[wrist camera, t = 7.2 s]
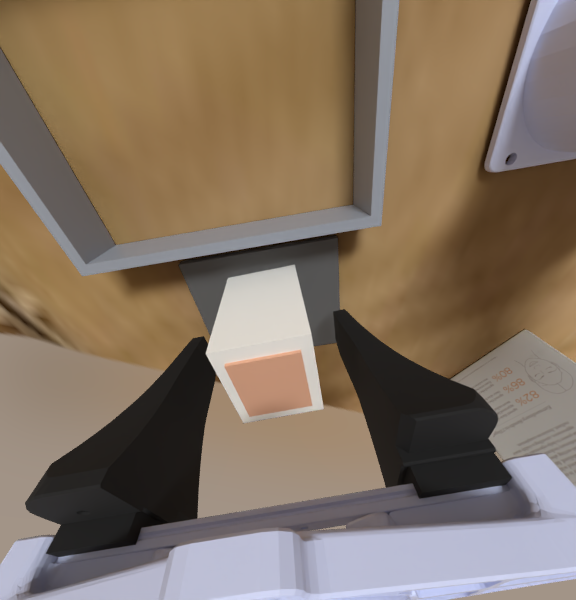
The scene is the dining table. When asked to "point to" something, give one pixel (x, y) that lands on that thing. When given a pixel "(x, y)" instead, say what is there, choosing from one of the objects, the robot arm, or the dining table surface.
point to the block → (265, 346)
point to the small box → (529, 399)
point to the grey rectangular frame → (109, 257)
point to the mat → (303, 254)
